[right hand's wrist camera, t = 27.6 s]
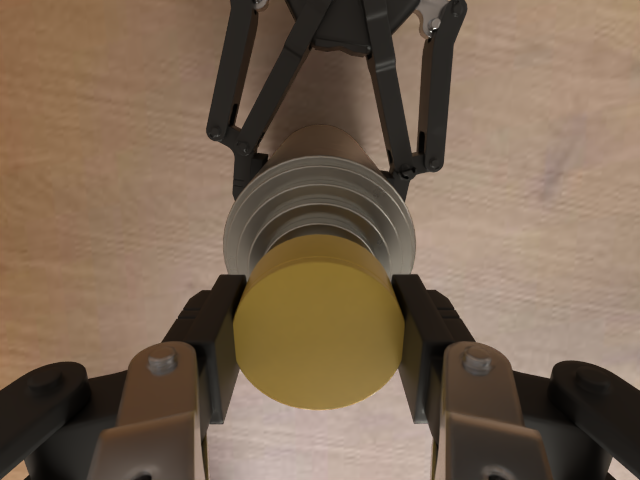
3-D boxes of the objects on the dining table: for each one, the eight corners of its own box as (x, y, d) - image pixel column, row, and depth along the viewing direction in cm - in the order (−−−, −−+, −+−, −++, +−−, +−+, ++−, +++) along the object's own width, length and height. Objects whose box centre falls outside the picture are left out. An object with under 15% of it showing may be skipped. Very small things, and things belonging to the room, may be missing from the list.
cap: (227, 339, 12) (210, 383, 10) (271, 211, 11) (261, 235, 9) (358, 380, 13) (365, 428, 11) (418, 264, 11) (437, 297, 9)
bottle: (335, 233, 34) (360, 470, 12) (257, 188, 33) (131, 367, 11) (384, 156, 32) (523, 282, 10) (303, 105, 31) (258, 122, 9)
